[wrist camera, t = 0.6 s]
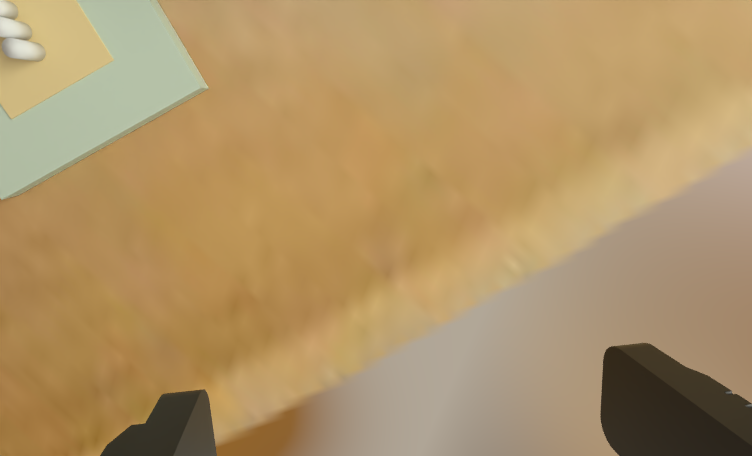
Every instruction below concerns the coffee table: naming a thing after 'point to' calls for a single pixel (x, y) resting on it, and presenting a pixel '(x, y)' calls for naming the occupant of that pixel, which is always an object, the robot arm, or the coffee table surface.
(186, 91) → the pin board
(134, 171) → the coffee table surface
